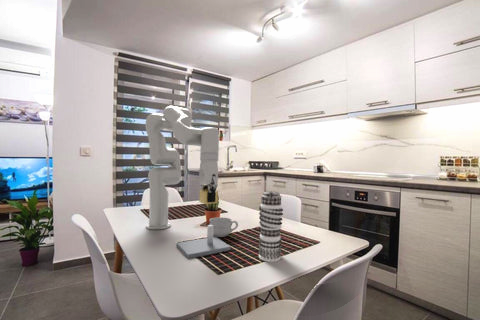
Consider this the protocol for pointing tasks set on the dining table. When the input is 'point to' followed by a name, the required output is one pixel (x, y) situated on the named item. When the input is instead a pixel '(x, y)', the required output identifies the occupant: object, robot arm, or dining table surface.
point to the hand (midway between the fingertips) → (208, 200)
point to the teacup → (222, 226)
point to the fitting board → (203, 245)
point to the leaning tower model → (270, 226)
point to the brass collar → (206, 197)
